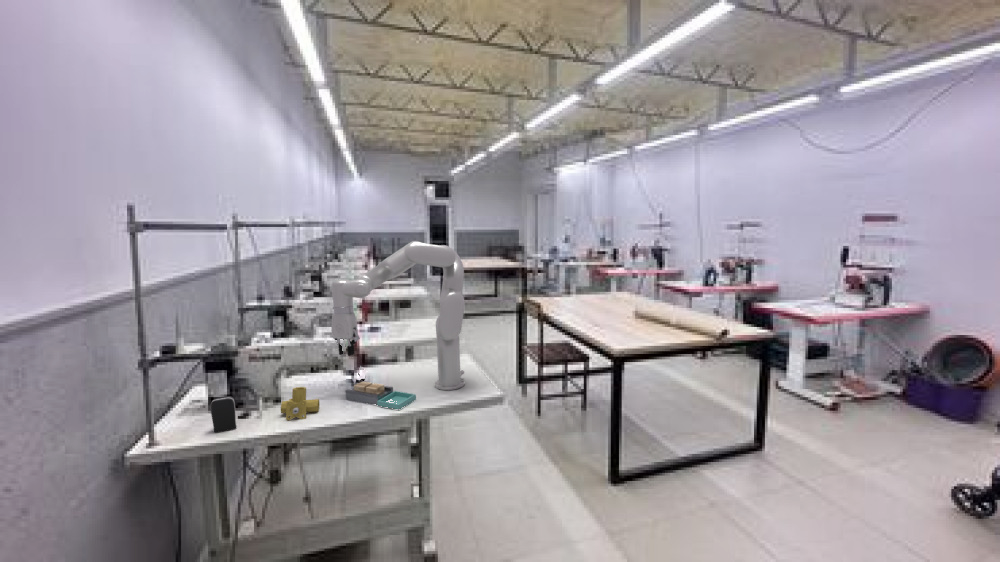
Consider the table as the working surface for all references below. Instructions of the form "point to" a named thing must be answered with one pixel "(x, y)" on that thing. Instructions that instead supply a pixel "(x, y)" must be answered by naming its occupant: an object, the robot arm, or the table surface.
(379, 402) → the tray
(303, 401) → the ball valve
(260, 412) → the table surface
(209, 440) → the table surface
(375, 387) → the chip
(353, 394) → the rail plate
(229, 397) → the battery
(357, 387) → the chip
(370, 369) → the table surface
